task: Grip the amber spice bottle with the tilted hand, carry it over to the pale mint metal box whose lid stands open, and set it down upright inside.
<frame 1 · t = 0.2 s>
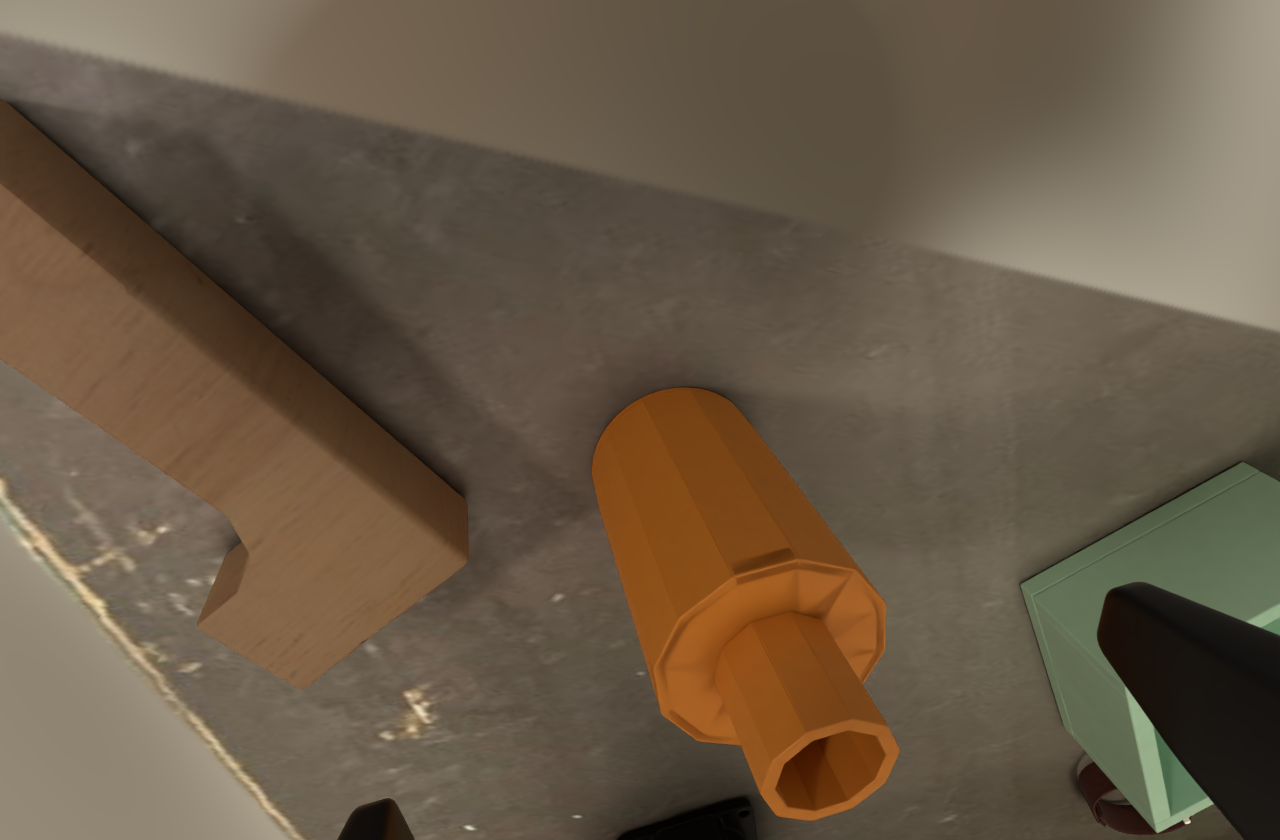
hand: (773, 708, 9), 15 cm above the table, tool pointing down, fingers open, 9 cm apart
bottle: (673, 462, 25), on the table
wooden block: (394, 596, 23), point 2 cm above the table
box: (1144, 605, 34), on the table
watch: (1112, 771, 41), on the table
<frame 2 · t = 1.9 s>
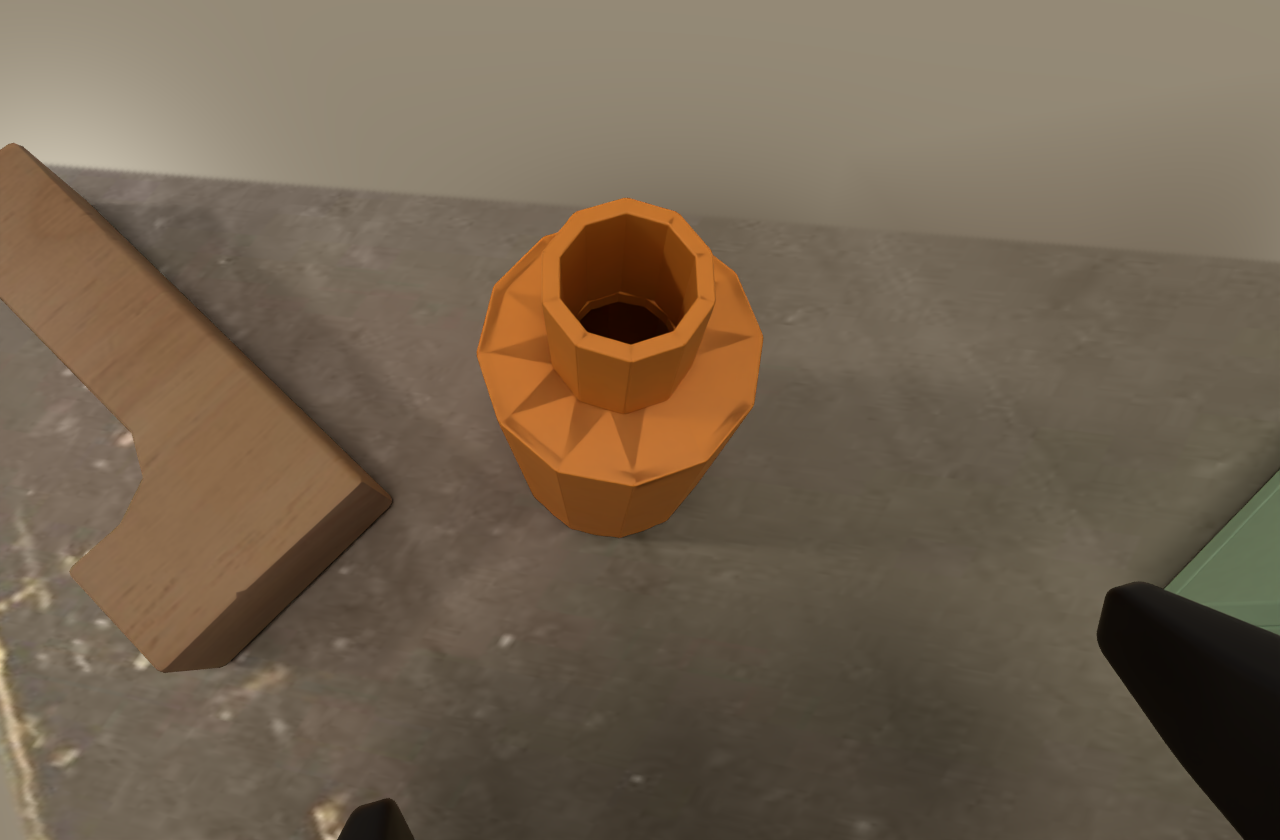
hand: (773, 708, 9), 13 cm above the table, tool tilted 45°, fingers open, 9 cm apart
bottle: (612, 448, 23), on the table
wooden block: (296, 584, 20), point 2 cm above the table
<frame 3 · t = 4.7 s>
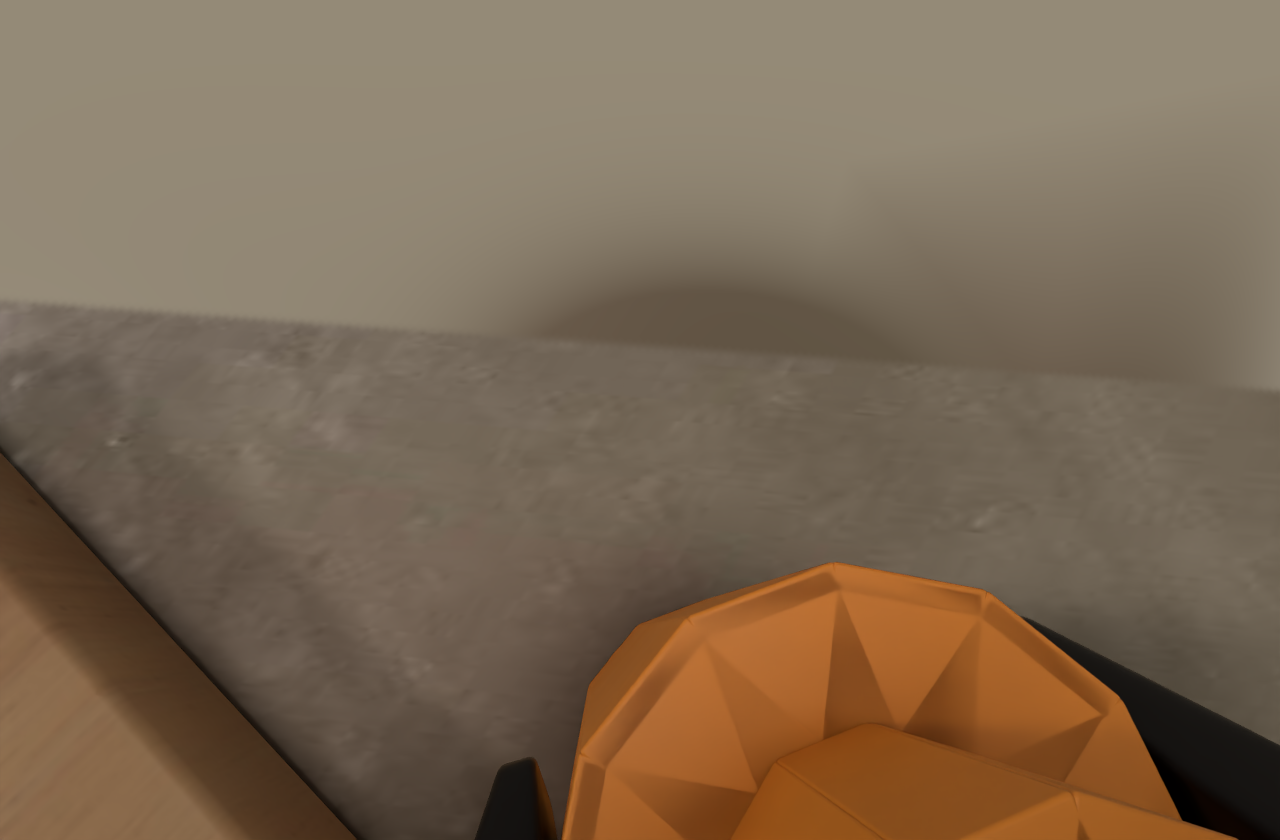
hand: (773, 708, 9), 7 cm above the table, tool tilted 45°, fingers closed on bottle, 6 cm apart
bottle: (718, 747, 15), on the table, touching gripper
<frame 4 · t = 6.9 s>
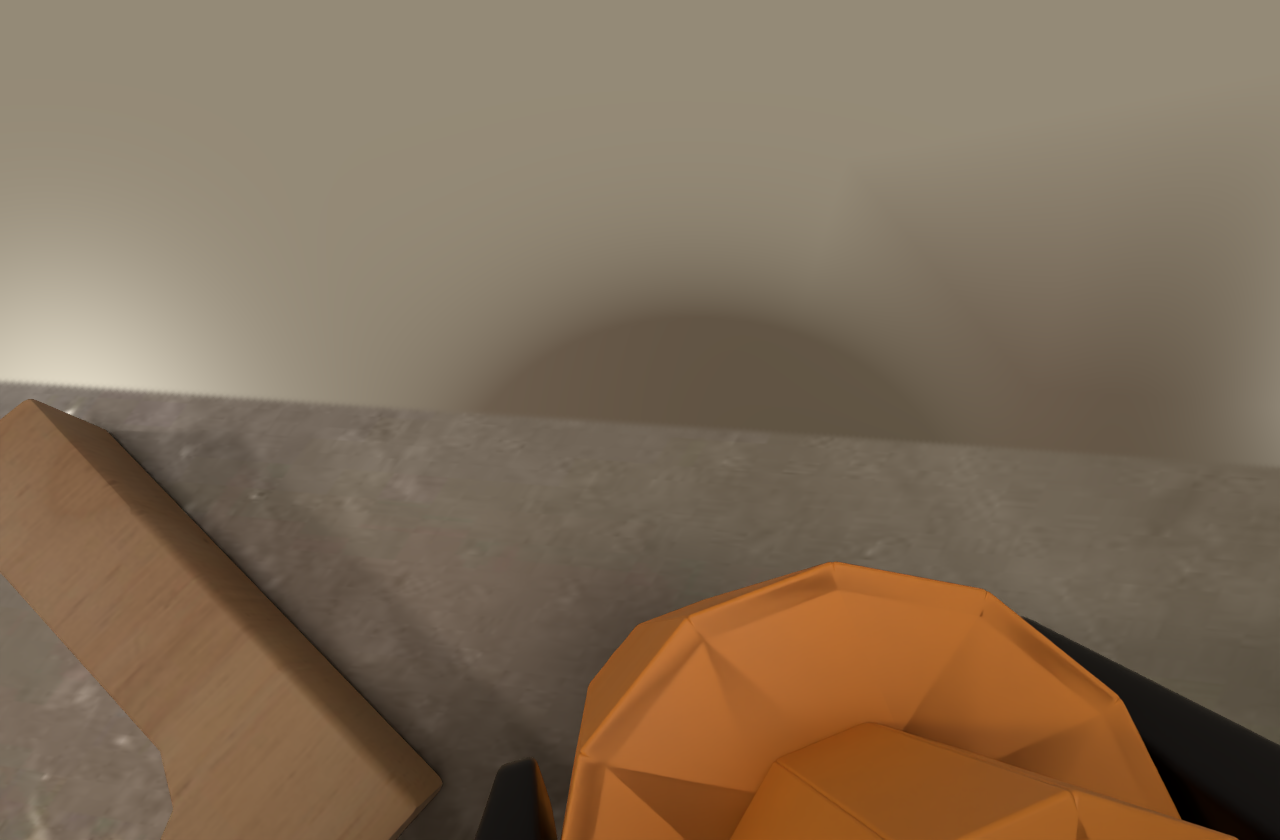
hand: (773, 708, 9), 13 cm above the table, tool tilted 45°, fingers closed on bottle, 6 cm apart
bottle: (718, 747, 15), point 7 cm above the table, touching gripper
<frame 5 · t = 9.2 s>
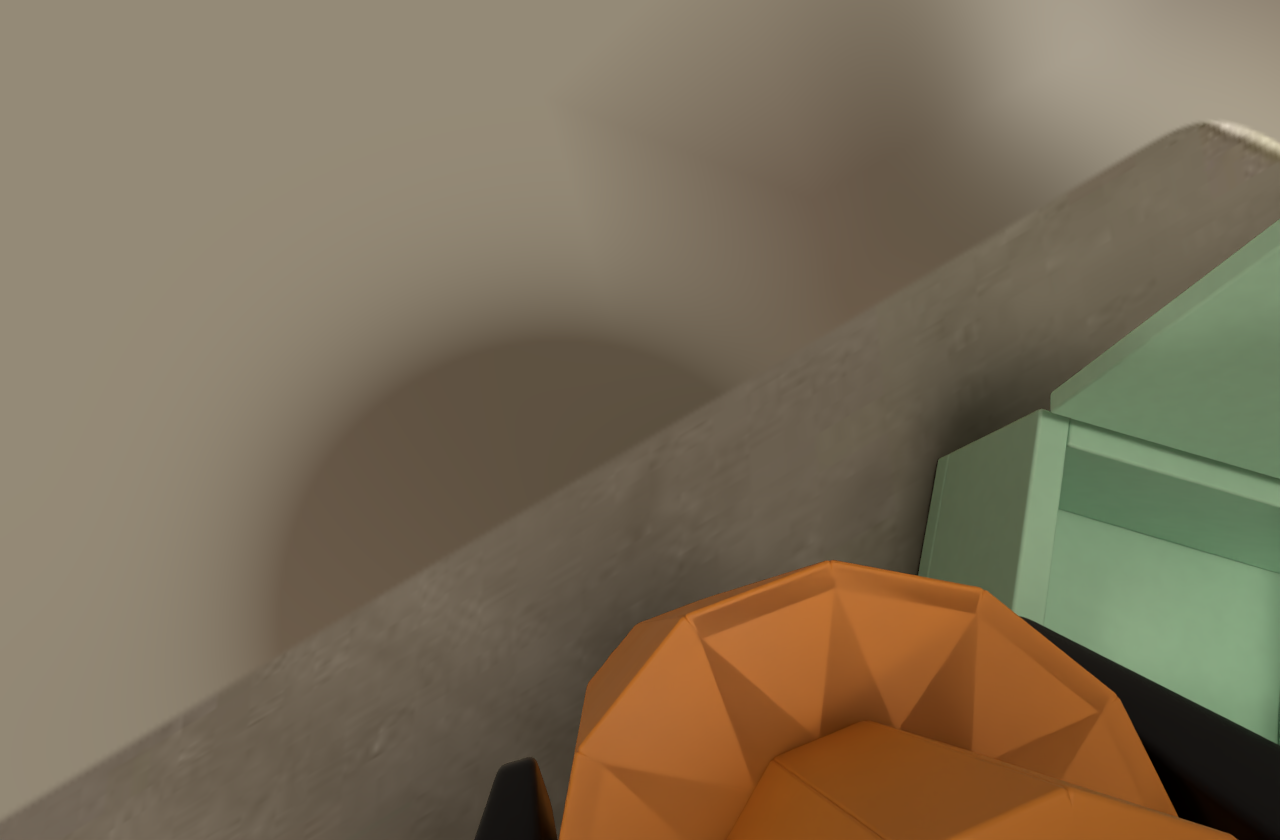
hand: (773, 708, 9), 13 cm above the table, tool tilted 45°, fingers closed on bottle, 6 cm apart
bottle: (717, 746, 15), point 7 cm above the table, touching gripper
box: (1093, 675, 22), on the table
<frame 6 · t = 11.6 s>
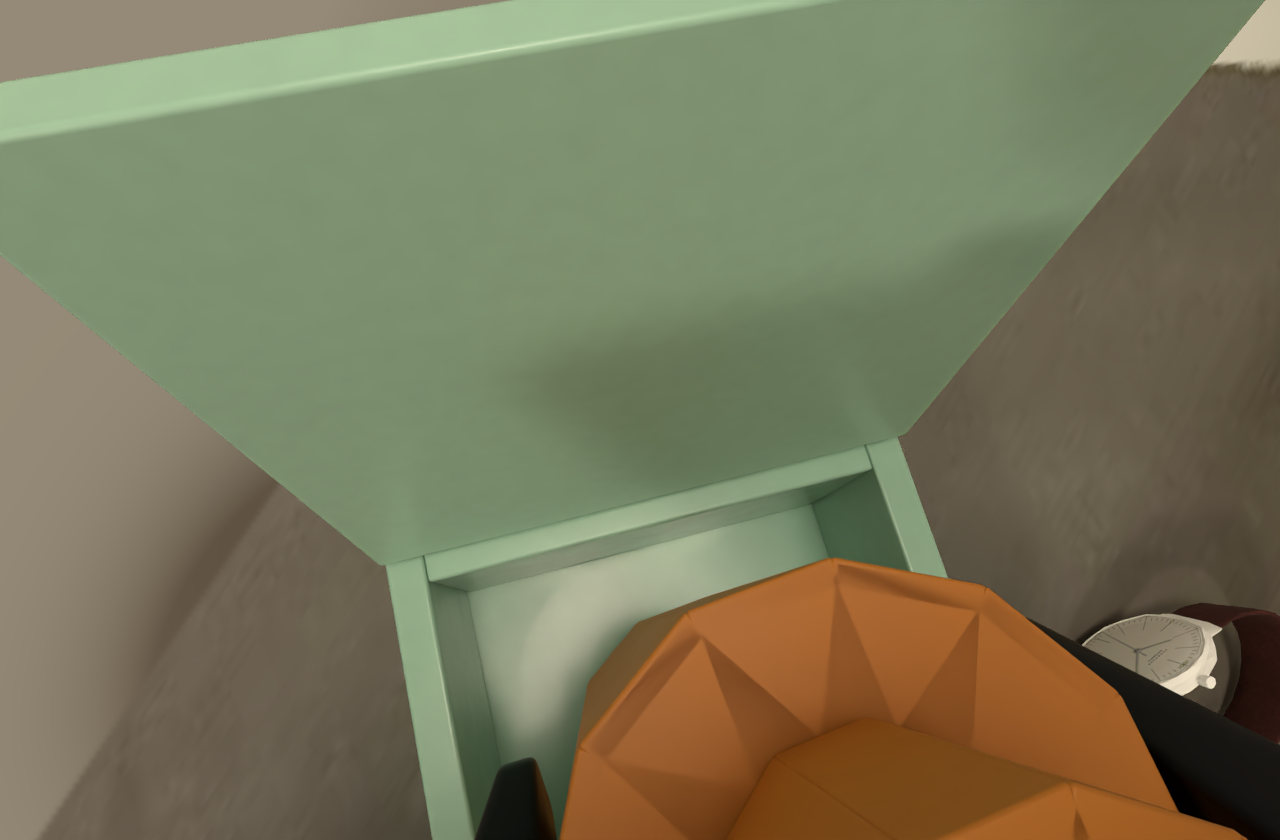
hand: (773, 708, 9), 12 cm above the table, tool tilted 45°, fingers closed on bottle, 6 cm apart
bottle: (717, 745, 15), point 6 cm above the table, touching gripper
box: (684, 709, 20), on the table
lid: (661, 353, 11), point 12 cm above the table, hinge at 100.0°
watch: (1132, 707, 21), on the table
when the fingers open (7 cm above the table, at t = 13.5 s): bottle stays where it is, resting on box.
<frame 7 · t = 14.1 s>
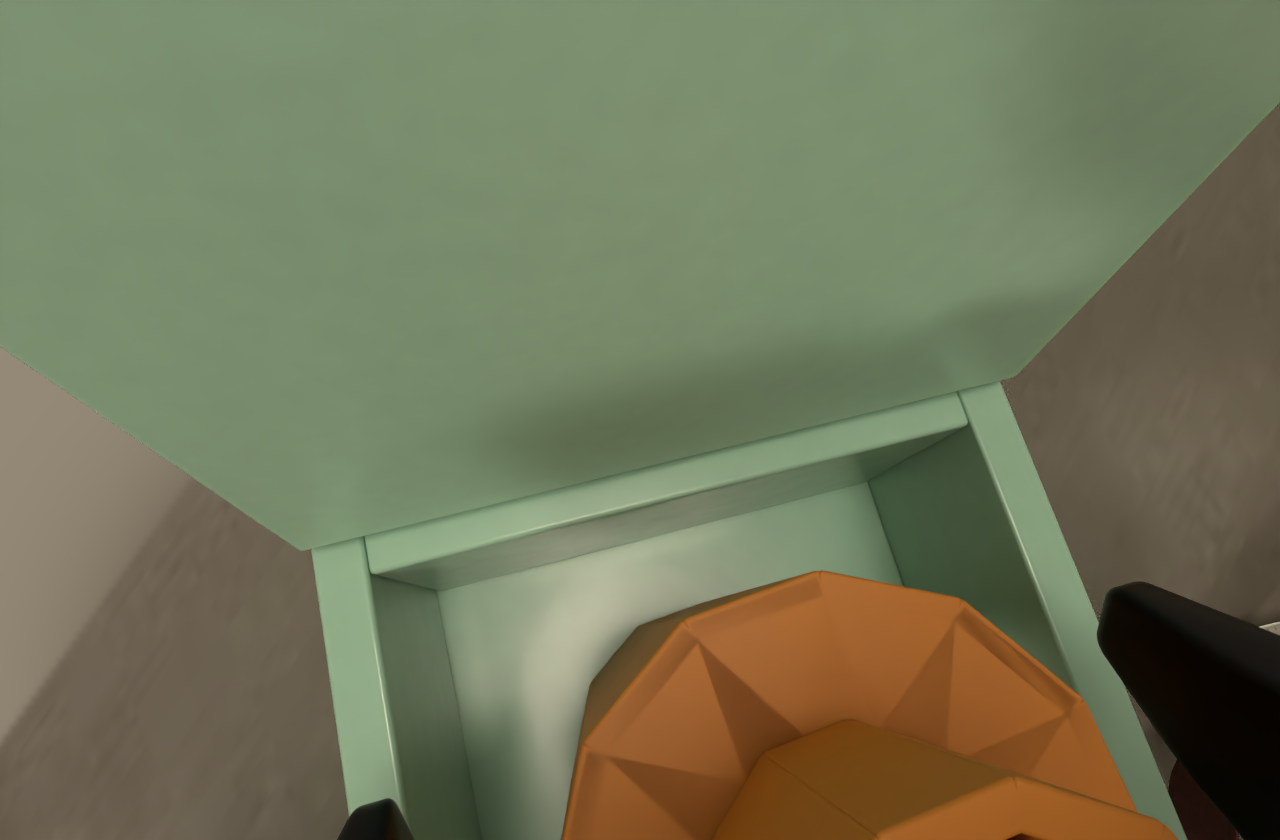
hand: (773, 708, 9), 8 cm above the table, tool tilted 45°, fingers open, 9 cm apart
bottle: (714, 745, 15), point 1 cm above the table, touching box
box: (710, 739, 16), on the table
lid: (707, 192, 7), point 12 cm above the table, hinge at 100.0°
watch: (1269, 736, 17), on the table
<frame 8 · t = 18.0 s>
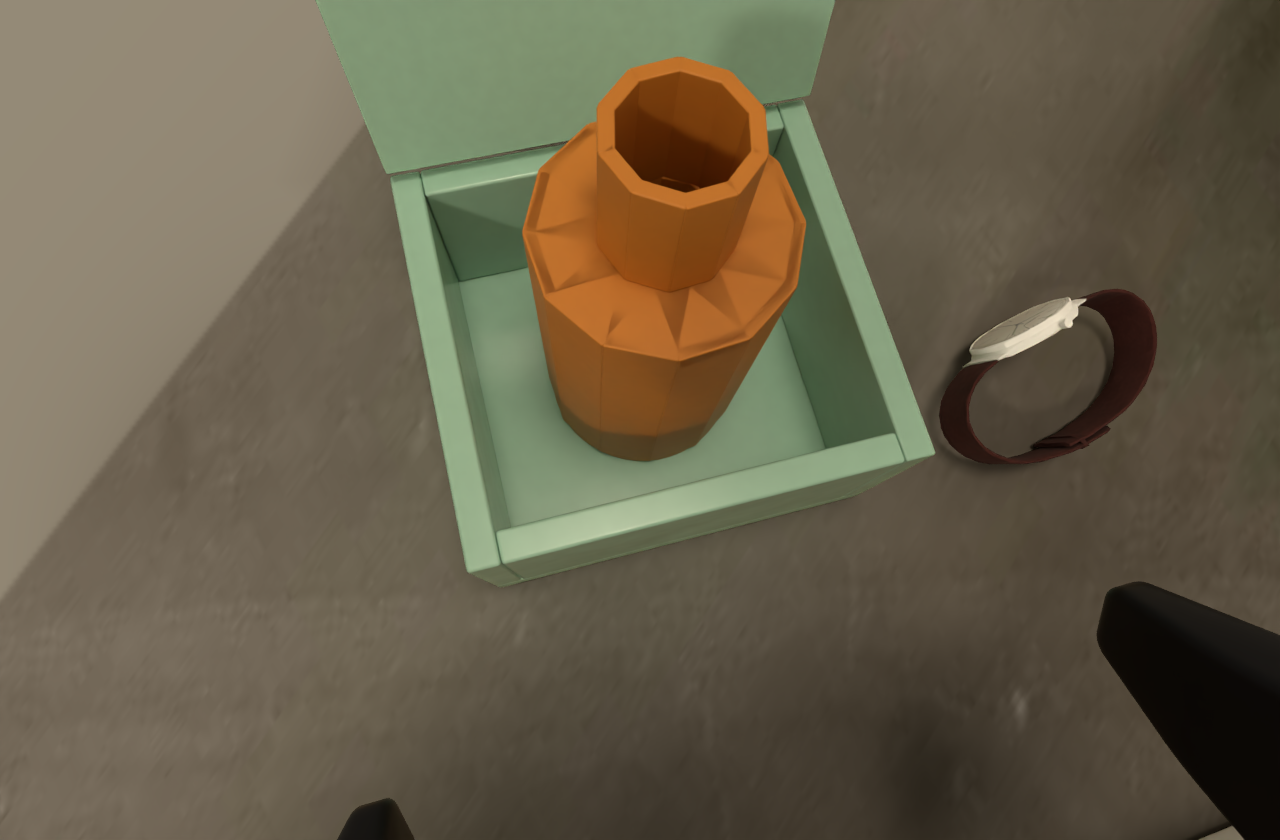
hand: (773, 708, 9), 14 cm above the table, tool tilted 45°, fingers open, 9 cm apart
bottle: (640, 375, 24), point 1 cm above the table, touching box
box: (640, 383, 24), on the table
watch: (1022, 393, 25), on the table
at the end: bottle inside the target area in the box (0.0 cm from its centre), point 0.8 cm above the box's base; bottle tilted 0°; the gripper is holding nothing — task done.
